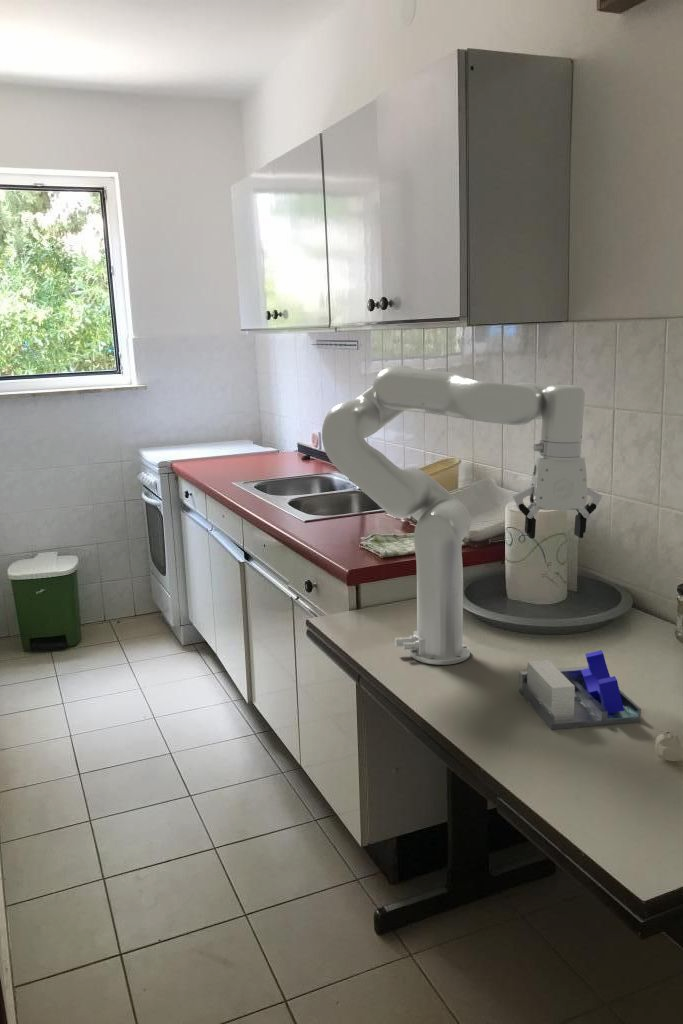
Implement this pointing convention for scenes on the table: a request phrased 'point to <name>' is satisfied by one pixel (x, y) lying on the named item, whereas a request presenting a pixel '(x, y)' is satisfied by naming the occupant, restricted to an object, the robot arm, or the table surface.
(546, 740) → the table surface
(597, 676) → the blue curved block
